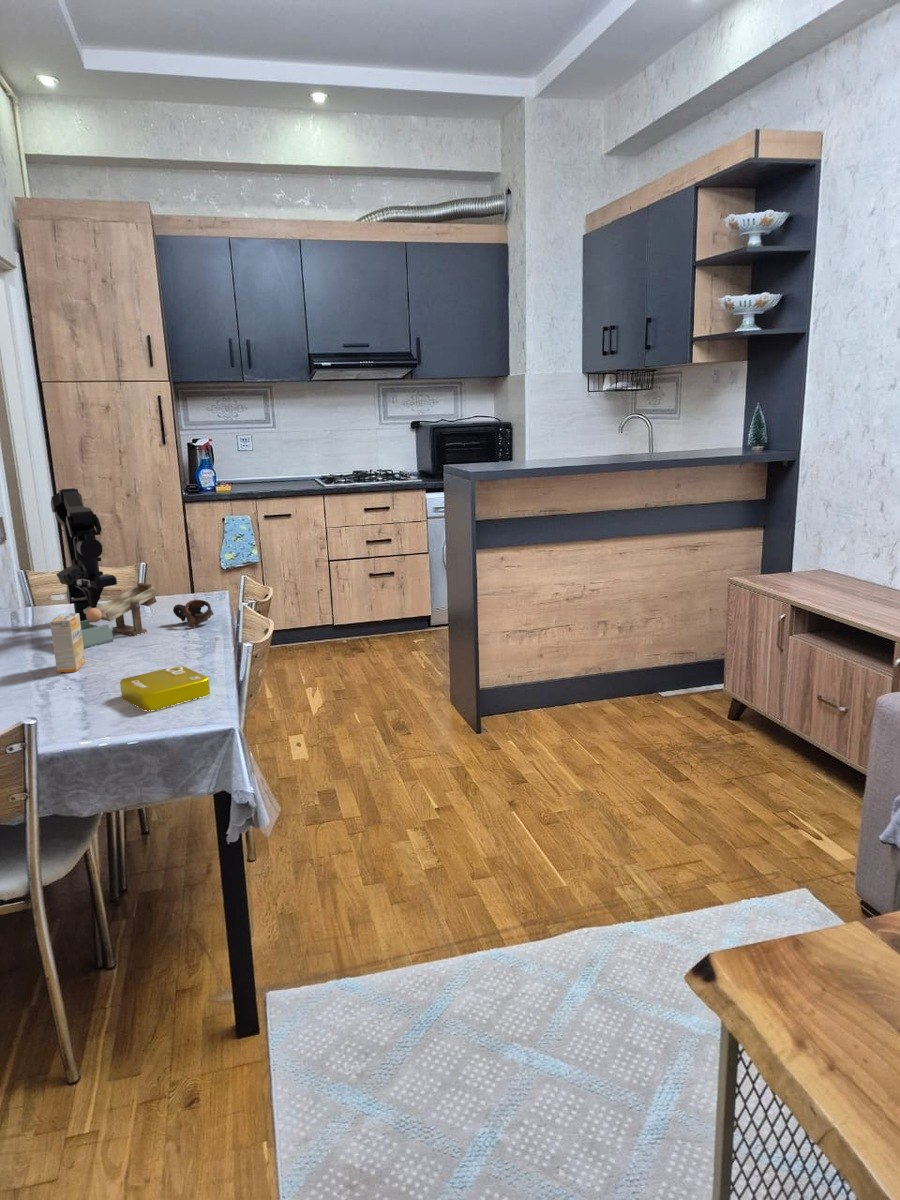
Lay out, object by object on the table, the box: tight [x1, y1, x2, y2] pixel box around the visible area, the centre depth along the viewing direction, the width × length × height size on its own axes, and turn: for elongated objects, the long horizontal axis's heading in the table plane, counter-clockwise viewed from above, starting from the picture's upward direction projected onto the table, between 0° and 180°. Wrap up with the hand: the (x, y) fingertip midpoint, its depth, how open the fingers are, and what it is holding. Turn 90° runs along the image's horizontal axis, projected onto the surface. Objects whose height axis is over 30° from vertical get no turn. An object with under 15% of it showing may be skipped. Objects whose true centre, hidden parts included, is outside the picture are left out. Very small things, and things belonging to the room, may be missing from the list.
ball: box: [86, 608, 102, 623], centre depth 222 cm, size 4×4×4 cm
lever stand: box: [111, 597, 148, 636], centre depth 230 cm, size 4×11×10 cm, turn 54°
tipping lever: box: [83, 582, 158, 622], centre depth 232 cm, size 16×15×5 cm
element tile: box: [119, 665, 211, 711], centre depth 175 cm, size 15×15×5 cm
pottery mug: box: [172, 599, 215, 628], centre depth 237 cm, size 12×10×8 cm
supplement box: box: [49, 612, 86, 674], centre depth 197 cm, size 8×5×13 cm, turn 9°
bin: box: [80, 620, 114, 649], centre depth 220 cm, size 11×11×5 cm
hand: (93, 607), depth 231 cm, fingers closed, pressing on tipping lever
